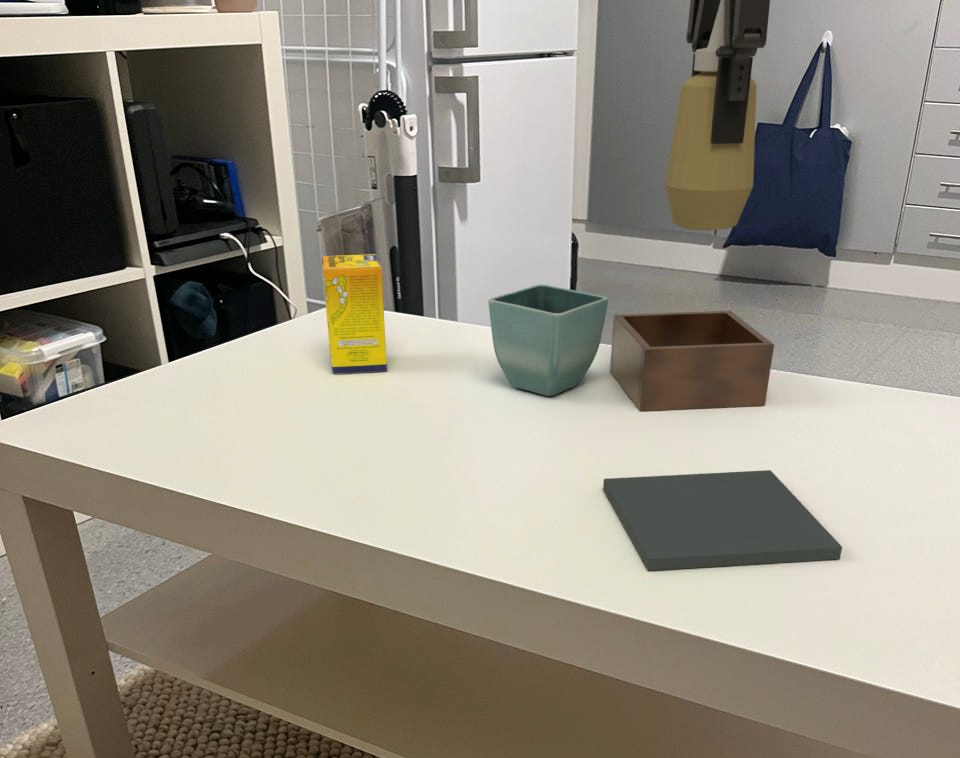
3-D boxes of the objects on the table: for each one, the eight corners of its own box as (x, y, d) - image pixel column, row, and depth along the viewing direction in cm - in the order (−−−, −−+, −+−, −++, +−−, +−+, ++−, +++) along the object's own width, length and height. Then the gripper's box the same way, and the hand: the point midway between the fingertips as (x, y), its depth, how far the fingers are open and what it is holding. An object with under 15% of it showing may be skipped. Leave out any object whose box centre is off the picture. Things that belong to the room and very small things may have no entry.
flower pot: (605, 385, 104) (611, 295, 100) (555, 407, 99) (559, 314, 94) (537, 368, 109) (539, 282, 104) (485, 389, 103) (485, 299, 99)
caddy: (723, 366, 110) (730, 310, 106) (765, 405, 99) (774, 344, 96) (609, 371, 108) (613, 314, 105) (639, 411, 98) (645, 349, 95)
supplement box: (329, 358, 112) (320, 255, 107) (383, 355, 113) (377, 253, 107) (331, 375, 108) (322, 267, 102) (387, 372, 108) (382, 265, 102)
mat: (768, 481, 84) (770, 469, 83) (840, 559, 72) (842, 546, 71) (602, 489, 82) (603, 478, 82) (647, 571, 70) (649, 558, 70)
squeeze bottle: (650, 230, 94) (668, 0, 84) (674, 215, 100) (693, 0, 90) (737, 237, 91) (766, -1, 81) (757, 221, 97) (785, -1, 87)
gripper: (666, -172, 87) (645, 128, 99) (742, -213, 70) (706, 152, 83) (750, -172, 87) (719, 126, 100) (845, -212, 71) (794, 150, 83)
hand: (713, 137), depth 91 cm, fingers closed on squeeze bottle, 6 cm apart
